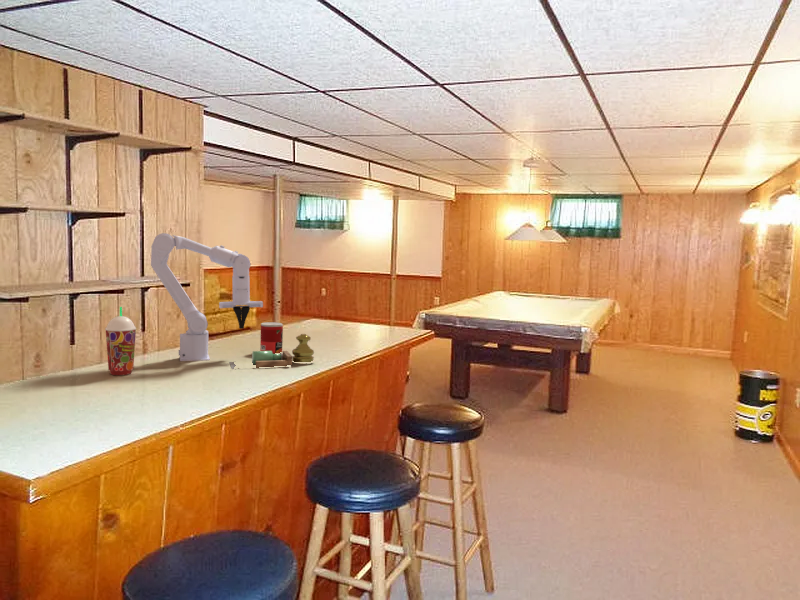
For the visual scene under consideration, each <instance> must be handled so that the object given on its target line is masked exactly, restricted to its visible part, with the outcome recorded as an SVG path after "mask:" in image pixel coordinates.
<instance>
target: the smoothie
mask: <svg viewBox="0 0 800 600" xmlns="http://www.w3.org/2000/svg"><path fill="white" fill-rule="evenodd" d="M104 329H105V342H106V353H107V354H106V355H107V356H106V357H107V368H108V371H109V374H110V375H113V376H126V375H130V374H132V372H133V371H132V370H133V369H134V366H135V365H134V364H135V350H136V334H137V333H136V332H137V327H136V326H135V324H134V322H133V320H132V319H131V318H130V317H128V316H124V315H123V306H119V315H117V316H115V317H113V318H111V319H110V320H109V321H108V323H107V326H106V327H105V328H104Z"/></svg>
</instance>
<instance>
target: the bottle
mask: <svg viewBox="0 0 800 600" xmlns="http://www.w3.org/2000/svg"><path fill="white" fill-rule="evenodd" d="M271 360H283V352H282V353H280V354H272V351H260V350H257V351H255V350H253V351H252V354H251V361H252V363H253V365H256V361H271Z"/></svg>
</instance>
